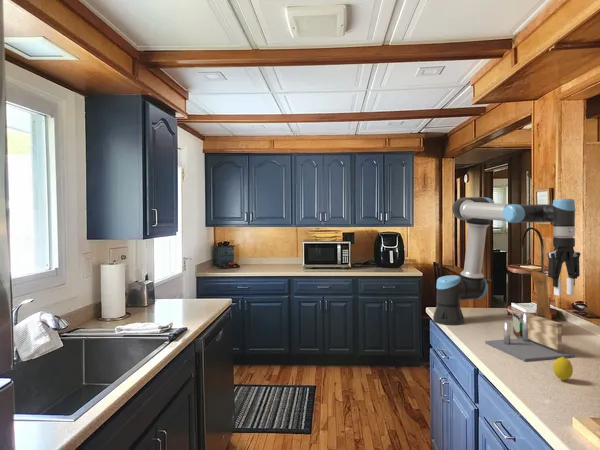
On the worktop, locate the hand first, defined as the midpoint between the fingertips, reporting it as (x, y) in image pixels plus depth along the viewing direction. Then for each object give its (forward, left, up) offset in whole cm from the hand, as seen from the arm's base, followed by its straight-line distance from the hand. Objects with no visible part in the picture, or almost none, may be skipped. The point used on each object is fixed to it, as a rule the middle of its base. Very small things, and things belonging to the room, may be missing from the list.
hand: (563, 294), depth 174 cm
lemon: (+26, -25, -23) cm, 43 cm away
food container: (-21, -2, -23) cm, 31 cm away
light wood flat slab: (-2, -7, -20) cm, 22 cm away
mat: (-5, -13, -23) cm, 27 cm away
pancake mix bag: (-28, +14, -23) cm, 38 cm away
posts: (-12, -12, -23) cm, 28 cm away
